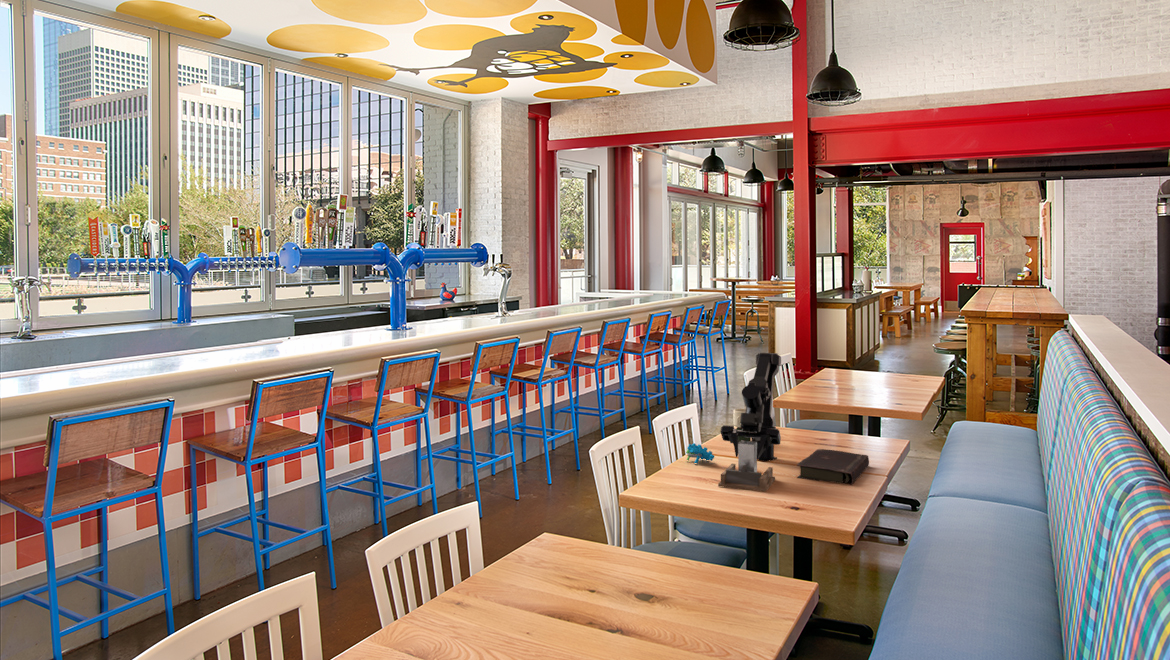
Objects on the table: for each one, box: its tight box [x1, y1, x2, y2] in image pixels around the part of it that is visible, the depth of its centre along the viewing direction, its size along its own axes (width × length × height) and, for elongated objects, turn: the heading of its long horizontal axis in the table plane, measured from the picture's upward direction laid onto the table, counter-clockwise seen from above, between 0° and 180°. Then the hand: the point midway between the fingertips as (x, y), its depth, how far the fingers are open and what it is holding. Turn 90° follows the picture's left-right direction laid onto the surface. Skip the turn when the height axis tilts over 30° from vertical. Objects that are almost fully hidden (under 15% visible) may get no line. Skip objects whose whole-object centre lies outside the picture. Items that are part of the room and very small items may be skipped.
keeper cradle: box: [717, 463, 776, 493], centre depth 244 cm, size 14×15×7 cm
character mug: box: [732, 408, 752, 442], centre depth 298 cm, size 11×7×13 cm, turn 147°
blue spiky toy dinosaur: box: [686, 442, 715, 464], centre depth 270 cm, size 11×6×10 cm
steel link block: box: [737, 440, 758, 472], centre depth 245 cm, size 5×5×12 cm
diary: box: [796, 448, 870, 486], centre depth 255 cm, size 19×25×5 cm
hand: (746, 457), depth 243 cm, fingers open, 6 cm apart
